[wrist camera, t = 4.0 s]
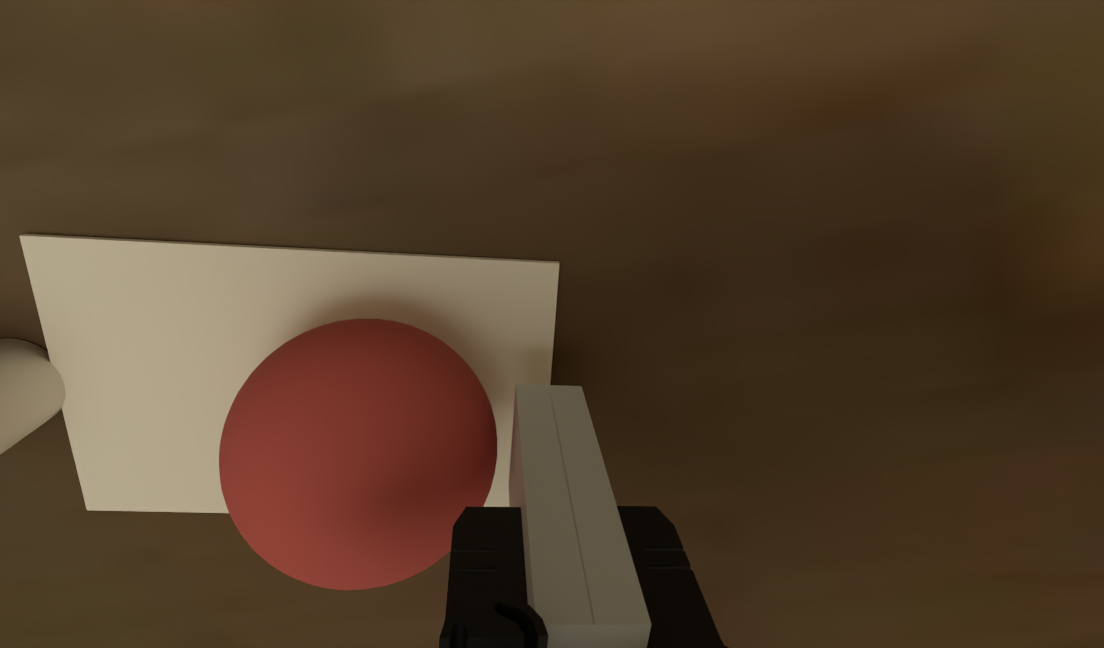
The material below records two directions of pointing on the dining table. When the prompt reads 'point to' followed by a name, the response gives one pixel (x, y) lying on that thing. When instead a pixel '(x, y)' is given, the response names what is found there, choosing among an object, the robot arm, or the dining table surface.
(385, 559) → the ball
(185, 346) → the cream flat rectangular slab
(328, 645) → the dining table surface
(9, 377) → the pin
